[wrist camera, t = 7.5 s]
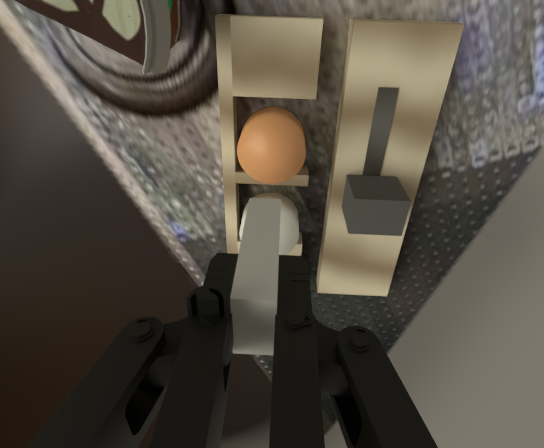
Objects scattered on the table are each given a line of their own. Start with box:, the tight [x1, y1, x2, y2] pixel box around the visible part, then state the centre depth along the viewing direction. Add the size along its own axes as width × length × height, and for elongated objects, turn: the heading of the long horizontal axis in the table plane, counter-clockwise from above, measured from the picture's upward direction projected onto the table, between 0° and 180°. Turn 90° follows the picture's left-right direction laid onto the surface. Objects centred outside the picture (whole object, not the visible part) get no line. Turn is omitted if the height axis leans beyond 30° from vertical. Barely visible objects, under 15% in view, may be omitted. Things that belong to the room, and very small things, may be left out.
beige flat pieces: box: [215, 14, 465, 296], centre depth 30 cm, size 24×16×2 cm, turn 178°
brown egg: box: [237, 107, 306, 184], centre depth 26 cm, size 5×5×3 cm
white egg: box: [239, 192, 299, 255], centre depth 30 cm, size 5×5×3 cm
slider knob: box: [342, 175, 411, 236], centre depth 27 cm, size 3×4×4 cm
